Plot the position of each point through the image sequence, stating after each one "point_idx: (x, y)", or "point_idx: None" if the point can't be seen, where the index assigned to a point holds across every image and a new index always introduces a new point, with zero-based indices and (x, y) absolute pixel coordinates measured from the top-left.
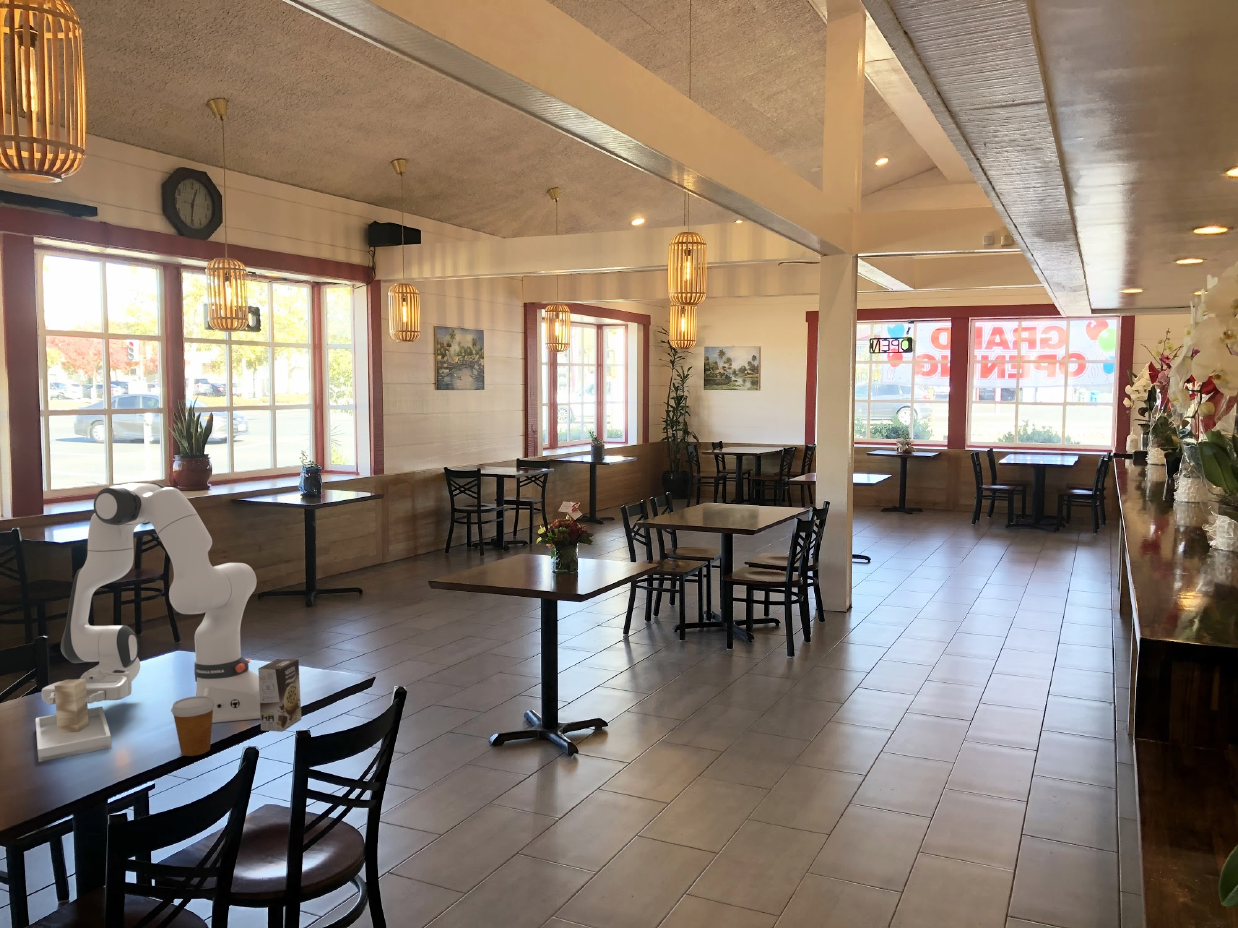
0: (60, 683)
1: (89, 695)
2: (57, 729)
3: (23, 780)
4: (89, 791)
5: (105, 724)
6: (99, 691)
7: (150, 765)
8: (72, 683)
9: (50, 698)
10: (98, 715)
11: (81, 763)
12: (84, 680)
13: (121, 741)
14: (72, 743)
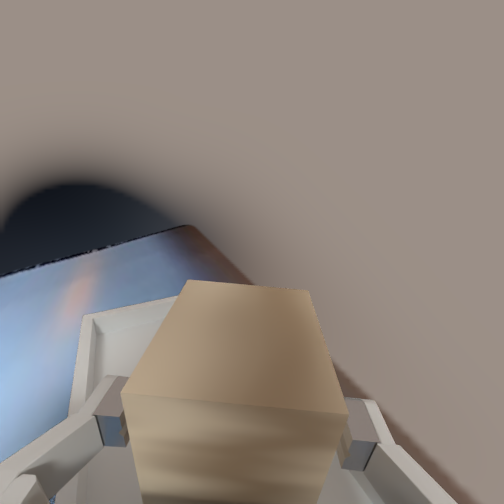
0: (302, 317)
1: (116, 401)
2: None
3: (220, 266)
4: (135, 242)
5: (77, 405)
6: (15, 485)
7: (43, 270)
8: (213, 304)
9: (356, 400)
10: None
11: (151, 290)
12: (134, 379)
13: (51, 375)
14: (172, 298)
